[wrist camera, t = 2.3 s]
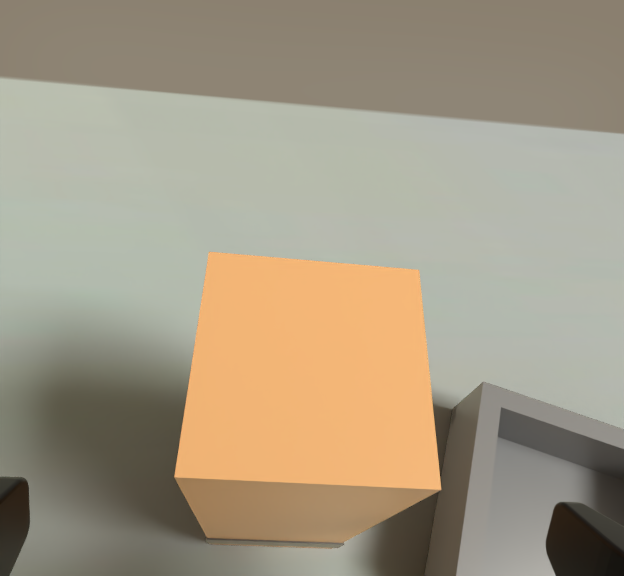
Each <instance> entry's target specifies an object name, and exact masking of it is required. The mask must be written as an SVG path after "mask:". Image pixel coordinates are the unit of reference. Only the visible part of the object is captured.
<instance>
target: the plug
mask: <svg viewBox="0 0 624 576" xmlns="http://www.w3.org/2000/svg"><path fill="white" fill-rule="evenodd" d="M174 478H175V480H176V481H177V483H178V485H179V487H180V489H181V491H182V493H183V494H184V496H185V498H186V500H187V502H188V504H189V505H190V507H191V509H192V511H193V513H194V515H195V516H196V518H197V520H198V522H199V524H200V526H201V527H202V529H203V531H204V533H205V535H206V538H205V540H206V542H207V543H208V544H216V545H244V546H272V547H300V548H328V549H332V548H339V547H341V546H343V545H344V542H345V541H347V540H349V539H350V538H352V537H354V536H356V535H358V534H360V533H362V532H364V531H365V530H367V529H369V528H371V527H373V526H375V525H377V524H378V523H380V522H382V521H384V520H386V519H388V518H390V517H392V516H393V515H395V514H397V513H399V512H401V511H403V510H405V509H407V508H408V507H410V506H412V505H414V504H416V503H418V502H420V501H421V500H423V499H425V498H427V497H429V496H431V495H433V494H435V493H436V492H438V491H440V490H441V481H440V471H439V461H438V452H437V442H436V432H435V422H434V412H433V403H432V393H431V383H430V373H429V364H428V354H427V344H426V334H425V324H424V315H423V305H422V295H421V285H420V275H419V270H413V269H401V268H390V267H378V266H367V265H355V264H344V263H332V262H321V261H309V260H298V259H286V258H274V257H263V256H251V255H240V254H228V253H217V252H209V255H208V262H207V268H206V275H205V281H204V288H203V294H202V301H201V307H200V314H199V320H198V327H197V333H196V340H195V346H194V353H193V359H192V365H191V372H190V378H189V385H188V391H187V398H186V404H185V411H184V417H183V424H182V430H181V437H180V443H179V450H178V456H177V463H176V469H175V475H174Z"/></svg>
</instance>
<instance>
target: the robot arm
mask: <svg viewBox="0 0 624 576" xmlns="http://www.w3.org/2000/svg"><path fill="white" fill-rule="evenodd" d="M29 525H30V510H29V487H28V483H27V480H26V479H24V478H22V477H0V576H9V575H10V573H11V571H12V569H13V566H14V564H15V562H16V560H17V557H18V555H19V553H20V551H21V548H22V546H23V544H24V542H25V539H26V537H27V534H28V531H29ZM546 552H547V556H548V558H549V561H550V563H551V566H552V568H553V571H554V573H555V575H556V576H624V526H622V525H620V524H618V523H617V522H615V521H613V520H611V519H610V518H608V517H606V516H604V515H603V514H601V513H599V512H597V511H595V510H594V509H592V508H590V507H588V506H587V505H585V504H583V503H580V502H562V501H561V502H559V503H557V504H556V505H555V506H554V509H553V513H552V517H551V521H550V525H549V529H548V533H547V537H546Z"/></svg>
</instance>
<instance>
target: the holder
mask: <svg viewBox="0 0 624 576" xmlns="http://www.w3.org/2000/svg"><path fill="white" fill-rule="evenodd" d="M440 481H441V490H440V491H439V492H438V498H437V504H436V510H435V516H434V522H433V527H432V533H431V539H430V545H429V551H428V557H427V563H426V568H425V574H424V576H556V575H555V573H554V571H553V568H552V566H551V563H550V561H549V558H548V556H547V552H546V537H547V533H548V529H549V525H550V521H551V517H552V513H553V509H554V506H555V505H556V504H557V503H559V502H561V501H562V502H580V503H583V504H585V505H587V506H588V507H590V508H592V509H594V510H595V511H597V512H599V513H601V514H603V515H604V516H606V517H608V518H610V519H611V520H613V521H615V522H617V523H618V524H620V525H622V526H624V429H621V428H618V427H616V426H613V425H610V424H607V423H604V422H601V421H598V420H595V419H592V418H589V417H586V416H583V415H580V414H577V413H574V412H571V411H568V410H566V409H563V408H560V407H557V406H554V405H551V404H548V403H545V402H542V401H539V400H536V399H533V398H530V397H527V396H524V395H521V394H518V393H516V392H513V391H510V390H507V389H504V388H501V387H498V386H495V385H492V384H489V383H486V382H482V383H481V384H480V385H479V386H478V387H477V388H476V389H475V390H473V391H472V392H471V393H470V394H469V395H468V396H467V397H466V398H464V399H463V400H462V401H461V402H460V403H459V404H458V405H457V406H455V407H454V408H453V410H452V416H451V422H450V428H449V434H448V439H447V445H446V451H445V457H444V463H443V469H442V475H441V480H440Z"/></svg>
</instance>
